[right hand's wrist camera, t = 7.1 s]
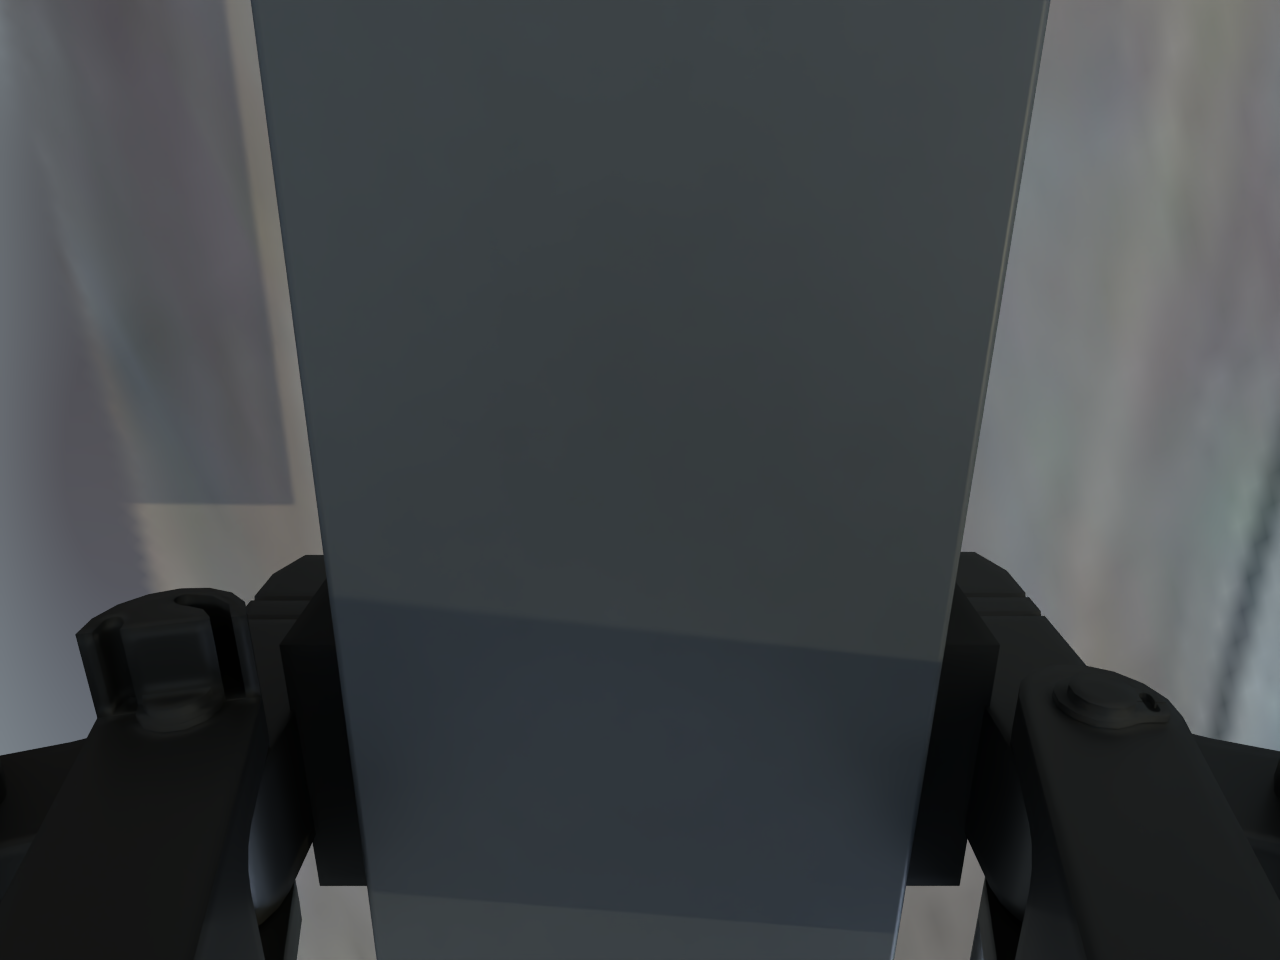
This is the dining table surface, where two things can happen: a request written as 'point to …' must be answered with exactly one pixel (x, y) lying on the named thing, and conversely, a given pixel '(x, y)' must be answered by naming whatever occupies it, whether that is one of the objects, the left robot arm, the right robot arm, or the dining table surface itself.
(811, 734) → the post
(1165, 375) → the dining table surface
